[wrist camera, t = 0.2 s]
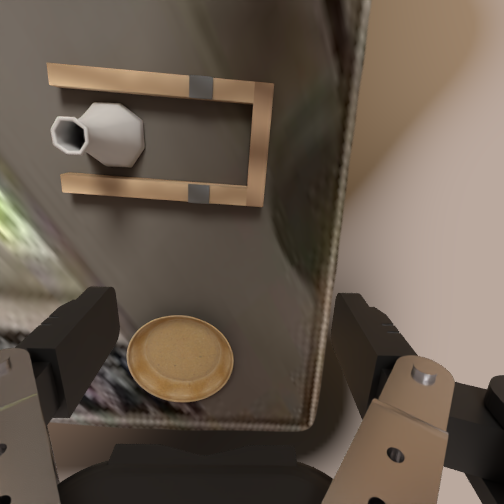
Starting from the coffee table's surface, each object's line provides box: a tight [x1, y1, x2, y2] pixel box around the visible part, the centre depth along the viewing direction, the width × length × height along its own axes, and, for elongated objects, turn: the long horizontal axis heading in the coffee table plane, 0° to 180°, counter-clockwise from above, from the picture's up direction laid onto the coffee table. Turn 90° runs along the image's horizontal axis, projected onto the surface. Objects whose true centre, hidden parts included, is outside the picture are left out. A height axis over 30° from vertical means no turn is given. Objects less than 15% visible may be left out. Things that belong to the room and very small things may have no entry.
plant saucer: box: [127, 315, 234, 402], centre depth 46 cm, size 15×15×3 cm
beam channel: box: [47, 63, 274, 207], centre depth 36 cm, size 13×23×2 cm, turn 85°
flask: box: [51, 102, 145, 168], centre depth 32 cm, size 7×7×10 cm
